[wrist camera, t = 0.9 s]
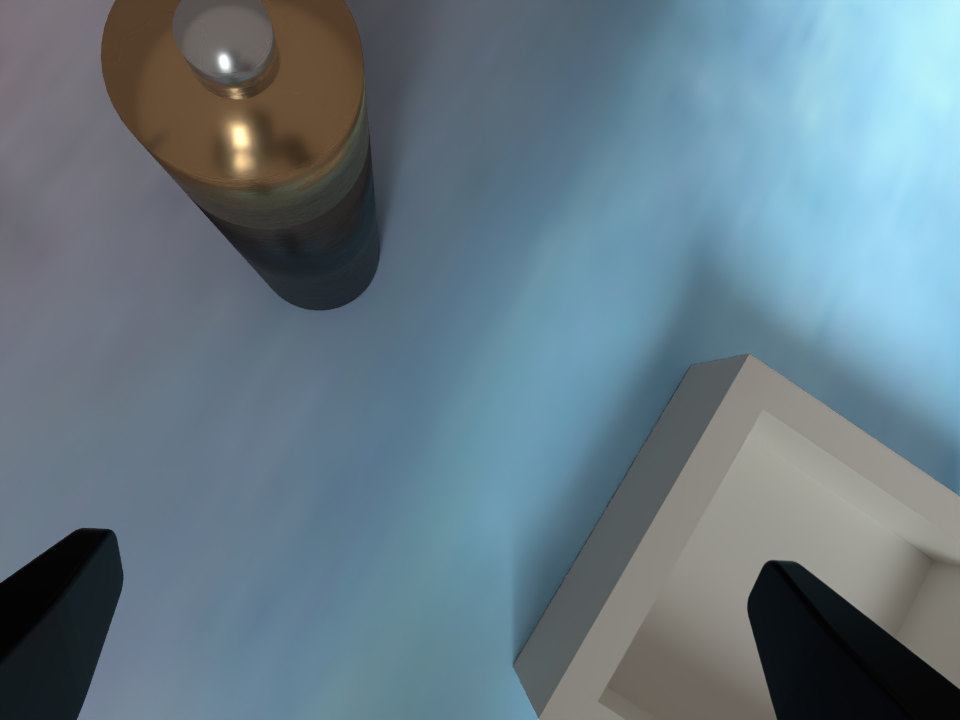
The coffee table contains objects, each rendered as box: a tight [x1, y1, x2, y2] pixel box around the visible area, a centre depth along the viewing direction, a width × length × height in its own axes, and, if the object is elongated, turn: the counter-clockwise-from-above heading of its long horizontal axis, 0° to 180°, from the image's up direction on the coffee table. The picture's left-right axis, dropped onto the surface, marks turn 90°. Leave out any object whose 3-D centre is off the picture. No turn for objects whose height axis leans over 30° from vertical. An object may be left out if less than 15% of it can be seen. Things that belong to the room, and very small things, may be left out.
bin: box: [513, 354, 960, 720], centre depth 21 cm, size 12×12×4 cm
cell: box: [101, 0, 379, 310], centre depth 16 cm, size 4×4×13 cm
